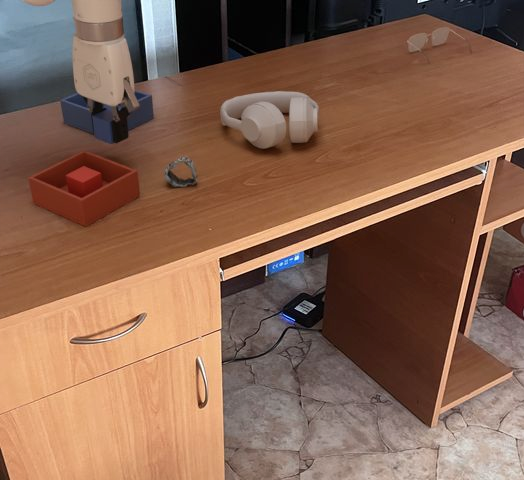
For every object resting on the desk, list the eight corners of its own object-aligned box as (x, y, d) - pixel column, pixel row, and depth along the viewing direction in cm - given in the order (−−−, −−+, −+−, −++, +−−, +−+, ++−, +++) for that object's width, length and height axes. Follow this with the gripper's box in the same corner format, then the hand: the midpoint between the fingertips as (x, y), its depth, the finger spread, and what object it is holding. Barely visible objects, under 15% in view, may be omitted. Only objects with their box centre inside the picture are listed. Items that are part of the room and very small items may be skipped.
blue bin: (63, 123, 151) (59, 100, 148) (109, 102, 158) (106, 80, 155) (109, 140, 145) (106, 116, 142) (154, 118, 153) (151, 95, 150)
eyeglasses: (448, 42, 186) (451, 25, 183) (472, 54, 182) (476, 37, 179) (404, 53, 180) (407, 36, 177) (428, 67, 176) (431, 49, 173)
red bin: (33, 203, 127) (27, 177, 124) (88, 174, 135) (84, 149, 132) (85, 226, 122) (81, 200, 119) (140, 195, 129) (137, 170, 126)
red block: (69, 197, 128) (65, 175, 125) (87, 187, 130) (83, 165, 128) (86, 204, 126) (82, 182, 123) (104, 194, 128) (101, 172, 126)
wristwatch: (183, 187, 135) (162, 167, 132) (204, 170, 132) (183, 150, 129) (181, 197, 132) (159, 178, 130) (202, 181, 130) (180, 161, 127)
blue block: (94, 137, 136) (92, 115, 133) (111, 130, 138) (108, 108, 136) (111, 144, 134) (108, 122, 132) (127, 136, 137) (125, 114, 134)
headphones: (338, 144, 143) (299, 116, 159) (339, 101, 138) (298, 76, 154) (242, 159, 138) (211, 128, 154) (239, 114, 134) (208, 87, 150)
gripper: (45, 22, 126) (61, 130, 138) (120, 46, 118) (131, 158, 130) (80, 11, 131) (92, 116, 142) (154, 33, 123) (161, 142, 135)
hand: (111, 135), depth 136 cm, fingers closed on blue block, 4 cm apart
